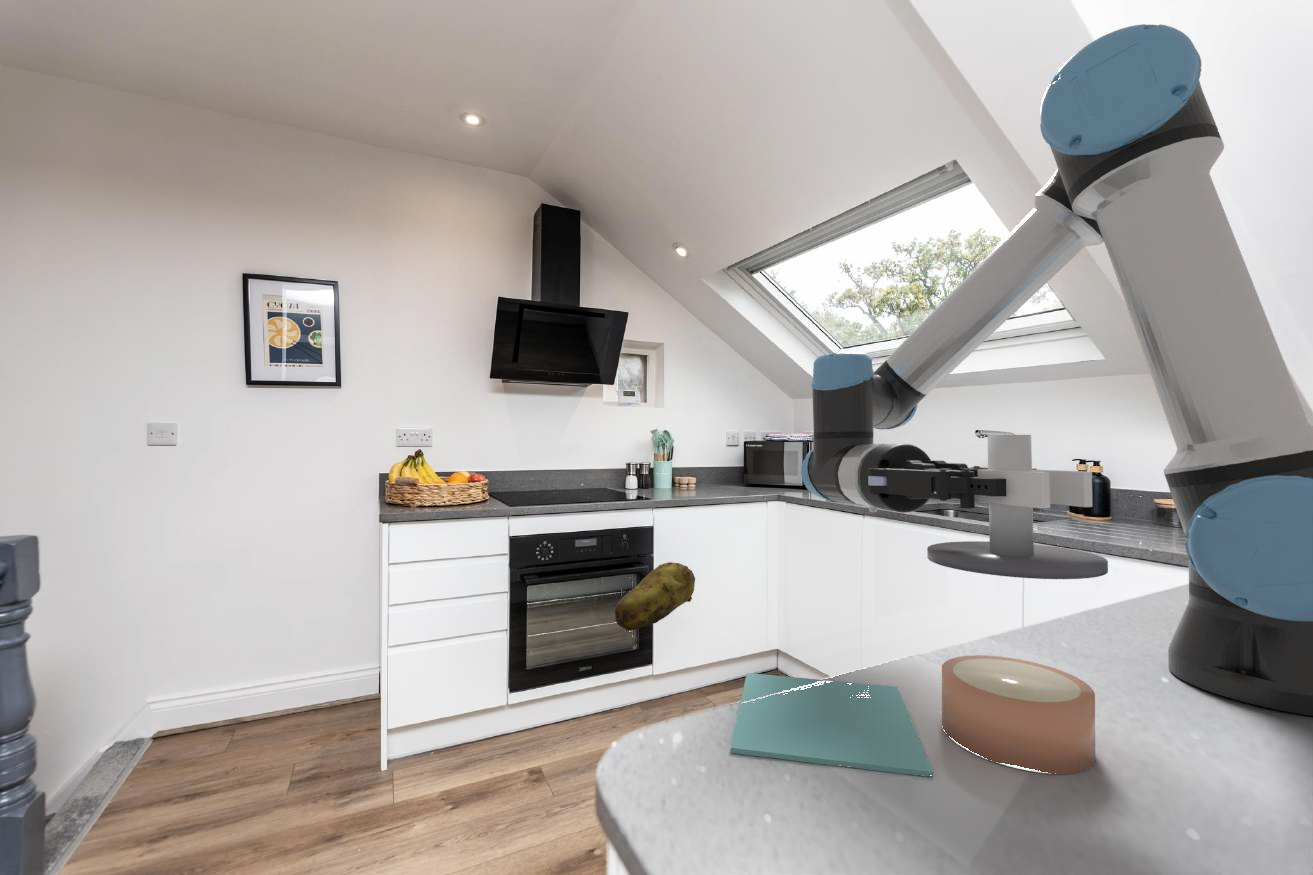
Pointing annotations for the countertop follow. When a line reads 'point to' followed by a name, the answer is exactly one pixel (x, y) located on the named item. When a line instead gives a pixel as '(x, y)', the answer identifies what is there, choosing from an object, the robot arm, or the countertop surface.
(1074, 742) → the orange bowl
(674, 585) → the potato
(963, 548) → the lid
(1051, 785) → the countertop surface
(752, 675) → the mat
